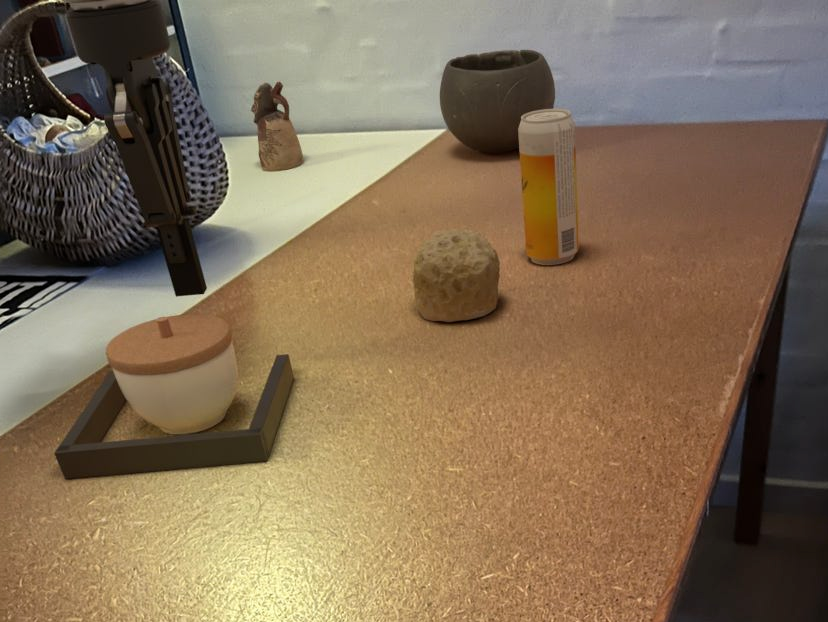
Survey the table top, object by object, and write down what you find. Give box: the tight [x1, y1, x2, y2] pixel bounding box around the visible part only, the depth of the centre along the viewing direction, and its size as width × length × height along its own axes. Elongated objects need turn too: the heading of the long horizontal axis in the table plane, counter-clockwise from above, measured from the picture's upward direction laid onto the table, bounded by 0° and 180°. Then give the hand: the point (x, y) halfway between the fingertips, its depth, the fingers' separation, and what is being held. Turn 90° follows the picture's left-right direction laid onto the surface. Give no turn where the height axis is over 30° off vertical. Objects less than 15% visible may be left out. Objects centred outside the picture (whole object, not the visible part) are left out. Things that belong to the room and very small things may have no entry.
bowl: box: [439, 49, 556, 154], centre depth 151 cm, size 18×18×13 cm
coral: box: [412, 228, 501, 323], centre depth 102 cm, size 9×9×8 cm
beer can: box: [518, 108, 580, 266], centre depth 109 cm, size 6×6×15 cm
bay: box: [53, 353, 295, 480], centre depth 88 cm, size 16×17×2 cm
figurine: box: [250, 80, 304, 172], centre depth 157 cm, size 7×7×12 cm
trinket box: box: [105, 313, 239, 436], centre depth 86 cm, size 11×11×9 cm
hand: (191, 292), depth 93 cm, fingers closed
